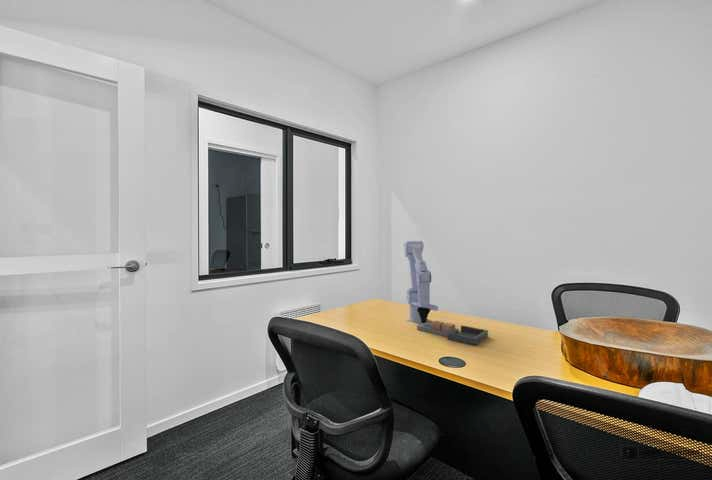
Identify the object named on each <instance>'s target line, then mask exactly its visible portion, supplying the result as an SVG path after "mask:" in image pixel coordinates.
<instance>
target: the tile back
mask: <svg viewBox="0 0 712 480" xmlns="http://www.w3.org/2000/svg"><path fill="white" fill-rule="evenodd" d="M444 323H445V321H440V320H434V321H432V322H431V324H432V328H435V329H442V324H444Z"/></svg>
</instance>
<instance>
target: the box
mask: <svg viewBox="0 0 712 480" xmlns="http://www.w3.org/2000/svg"><path fill="white" fill-rule="evenodd" d="M488 337H489V330H488V329H483V328H477V327H472V326H467V325H460V330H459V332H458V333H456V334H454V333H450V332H449V333H448V337H447V340H449V341H452V342H457V343H460V344H461V343H462V344H466V345H471V346H477V345H478V344H480V343H481V342H482V341H484V340H486V339H487V338H488Z"/></svg>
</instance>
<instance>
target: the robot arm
mask: <svg viewBox="0 0 712 480" xmlns="http://www.w3.org/2000/svg"><path fill="white" fill-rule="evenodd" d="M424 247H425V246H424V242H423V241H422V240H405V241H404V246H403V249H404V257H406V258H407V260H408V262H409V263H408V265H409V275H410V277H409V278H410V287H409V288H408V289H407V291H406V301H407V303H408V305H409V318H408V319H406V321H407V322H412V323H415V324H422V323H426V322H427V321H428V316H429V314H430V312H431V311H434V312H436V311H438V310H439V306H438V305H434V304H431V303H430V301H431V299H430V296H431V295H430V293H431V290H430V288H431V287H430V285H431V284H430V283H431V282H432V273H431V271H430V270H429V269H428V266H427V263H426V261H425V260H424V259H423V255H422V254H423V251H424V249H425V248H424Z"/></svg>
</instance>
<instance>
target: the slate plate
mask: <svg viewBox="0 0 712 480" xmlns="http://www.w3.org/2000/svg"><path fill="white" fill-rule="evenodd" d="M459 329H460V328H456V327H455V330H453V331H451V332H450V333H454V334H456V333H458V332H460V330H459ZM416 330H417V331H421V332H424V333H431V334H433V335H434V334H435V335H438V336H442V337H443V336H444V337H447V338H448V333H449V331H445V330H442V329H435V328H432V322H427V321H426V323H422V322H421V323H419V324H418V325H417V326H416Z"/></svg>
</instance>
